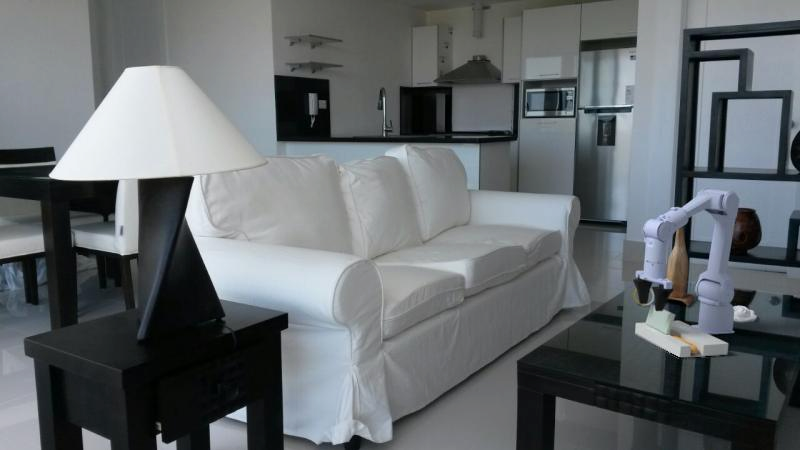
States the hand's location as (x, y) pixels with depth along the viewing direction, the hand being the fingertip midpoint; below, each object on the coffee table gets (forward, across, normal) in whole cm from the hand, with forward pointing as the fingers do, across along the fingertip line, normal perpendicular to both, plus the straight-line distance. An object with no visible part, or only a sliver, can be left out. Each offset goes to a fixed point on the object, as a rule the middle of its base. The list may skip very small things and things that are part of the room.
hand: (651, 307), depth 185 cm
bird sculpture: (+11, -37, +36) cm, 53 cm away
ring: (+11, -34, +21) cm, 41 cm away
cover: (+4, 0, +4) cm, 6 cm away
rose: (+11, -16, +45) cm, 49 cm away
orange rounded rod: (+9, +8, +5) cm, 13 cm away
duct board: (+10, +4, +7) cm, 13 cm away
